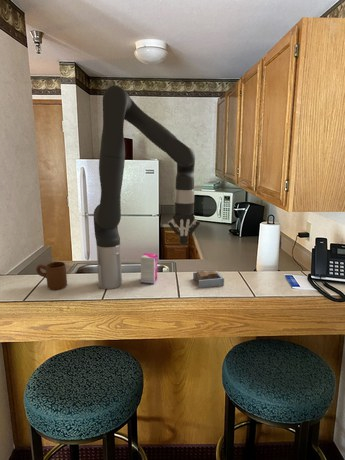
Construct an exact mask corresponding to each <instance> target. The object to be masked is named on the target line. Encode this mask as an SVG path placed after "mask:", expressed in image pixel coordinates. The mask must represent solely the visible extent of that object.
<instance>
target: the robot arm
mask: <svg viewBox="0 0 345 460" xmlns="http://www.w3.org/2000/svg"><path fill="white" fill-rule="evenodd" d="M125 121H126V122H128V123H129V124H131V125H132V126H133V127H135V128H136V129H137V130H138V131H139V132H141V133H142V134H143V136H145V138H147V139H148V140H149V142H151V143H153V145H155V146H156V147H157V148H159V149H160V150H161V151H162V152H163V153H166V155H168V157H170V159H172V160H173V161H174V162H175V163H176V176H175V190H174V192H175V193H174V199H173V200H174V205H173V206H174V212H173V216H172V219H170V220H168V221H167V224H168V226H169V227H170V228H171V229H172V231H173V232H174V233H175V235H177V236H179V237H178V238H179V239H178V242H179V244H180V245H181V246H186V244H187V243H188V236H190V235H192V234H193V233H194V232H195V231H196V230H197V228H198V227H199V225H200V221H199V220H197V219H196V217H195V165H196V153H195V151H194V150H193V149H192V148H190V147H189V146H188V145H187V144H186V143H183V142H182V141H181V140H180V139H178V138H177V136H176V135H175V134H174V133H173V132H172V131H170V130H169V129H167V128H166V127H164V126H163V125H162V124H161V123H160V122H158V121H157V120H156V119H154V118H152V117H151V116H150V115H148V114H147V113H146V112H144V110H142V109H141V108H140V107H139V106H138V105H137V104H136V102H134V100H133V99H132V98H131V96H130V95H129V93H128V92H127V91H126V90H125V89H124V88H122V87H121V86H119V85H115V84H114V85H111V86H109V87H107V89H105V90H104V93H103V95H102V132H101V140H100V150H99V161H98V175H99V183H100V200H99V204H98V205H97V206H96V207H95V209H94V211H93V228H94V229H93V230H94V237H95V243H96V244H95V245H96V259H97V260H96V261H97V277H98V278H97V281H98V289H105V290H112V289H113V290H114V289H116V288H119V287H121V286H122V284H123V279H122V256H121V254H122V253H121V237H120V234H119V229H118V226H119V224H120V221H121V218H122V213H121V211H122V209H121V208H122V205H121V198H122V196H121V195H122V186H123V180H124V171H125V163H126V162H125V161H126V144H125V134H124V123H125ZM175 224H176V225H177V226H178V229H177V228H176V227H175Z"/></svg>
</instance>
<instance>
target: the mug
mask: <svg viewBox="0 0 345 460" xmlns="http://www.w3.org/2000/svg"><path fill="white" fill-rule="evenodd" d="M42 269H43V270H44V271H45V272H43V271H42ZM35 271H36V273H37V275H39V277H42V278H45V279H46V285H47V288H48V289H49V290H50V291H59V290H63V289H65V288H66V287H67V286H68V278H67V277H68V276H67V266H66V262H63V261H54V262H52V261H51V262H49V263H47V264H37V266H36V270H35Z"/></svg>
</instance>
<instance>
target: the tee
mask: <svg viewBox="0 0 345 460" xmlns="http://www.w3.org/2000/svg"><path fill="white" fill-rule="evenodd" d="M216 271H217V270H209V271H208V270H207V272H206V271H204V270H197V271H196V272H197V280H196V281H197V282H198V283H199V280H206V279H217V275H218V273H217V272H216Z"/></svg>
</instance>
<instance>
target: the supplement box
mask: <svg viewBox="0 0 345 460" xmlns="http://www.w3.org/2000/svg"><path fill="white" fill-rule="evenodd" d="M157 280H158V254H157V253H149V252H148V253H147V252H145V253H143V255H141V257H140V284H144V285H145V284H146V285H155V283H156V281H157Z"/></svg>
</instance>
